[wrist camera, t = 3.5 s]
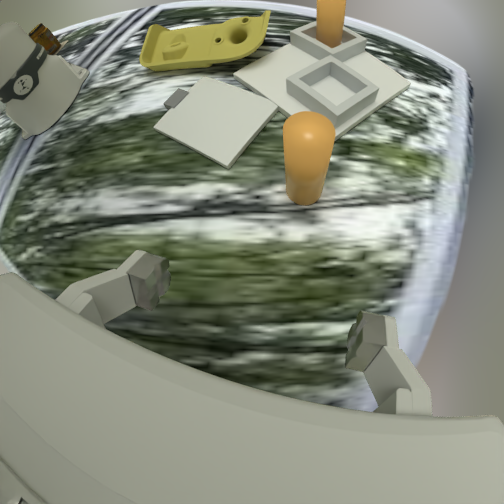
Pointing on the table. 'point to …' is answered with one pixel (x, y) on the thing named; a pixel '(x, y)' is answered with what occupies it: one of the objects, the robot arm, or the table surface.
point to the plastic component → (202, 43)
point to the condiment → (46, 39)
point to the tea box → (2, 107)
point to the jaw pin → (307, 155)
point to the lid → (216, 119)
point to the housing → (324, 72)
